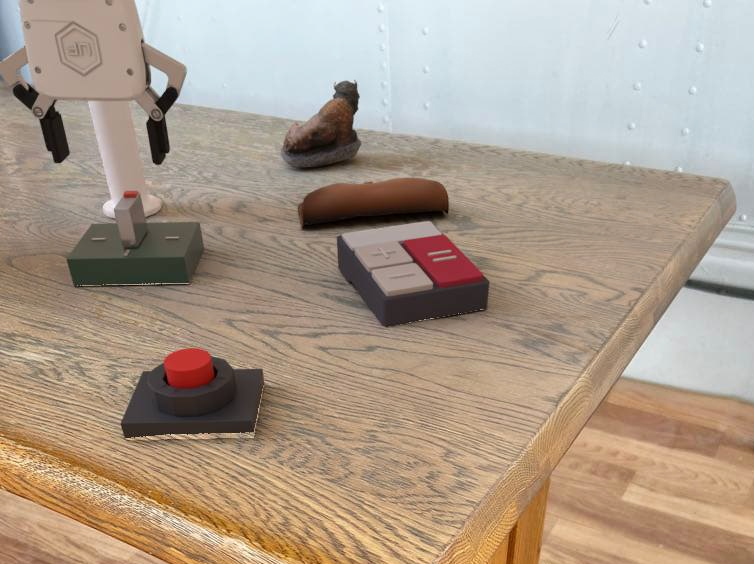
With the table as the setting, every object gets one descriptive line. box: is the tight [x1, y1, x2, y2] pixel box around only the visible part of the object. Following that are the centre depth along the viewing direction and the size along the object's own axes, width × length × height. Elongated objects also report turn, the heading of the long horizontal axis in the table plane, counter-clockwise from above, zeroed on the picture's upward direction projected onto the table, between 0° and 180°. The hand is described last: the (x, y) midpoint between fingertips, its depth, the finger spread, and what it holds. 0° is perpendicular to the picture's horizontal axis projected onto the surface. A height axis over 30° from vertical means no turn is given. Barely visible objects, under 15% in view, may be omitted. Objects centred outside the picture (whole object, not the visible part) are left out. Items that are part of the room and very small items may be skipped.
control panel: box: [66, 221, 205, 287], centre depth 87 cm, size 12×10×3 cm
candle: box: [87, 101, 162, 220], centre depth 93 cm, size 7×7×25 cm
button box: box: [120, 355, 265, 439], centre depth 64 cm, size 10×8×4 cm
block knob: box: [114, 191, 148, 248], centre depth 84 cm, size 5×2×4 cm, turn 1°
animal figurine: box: [279, 79, 362, 168], centre depth 112 cm, size 12×7×10 cm, turn 118°
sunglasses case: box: [297, 177, 450, 229], centre depth 98 cm, size 18×7×7 cm
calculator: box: [336, 220, 490, 328], centre depth 82 cm, size 11×4×15 cm
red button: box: [163, 347, 215, 389], centre depth 63 cm, size 4×4×2 cm
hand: (111, 160), depth 80 cm, fingers open, 9 cm apart
